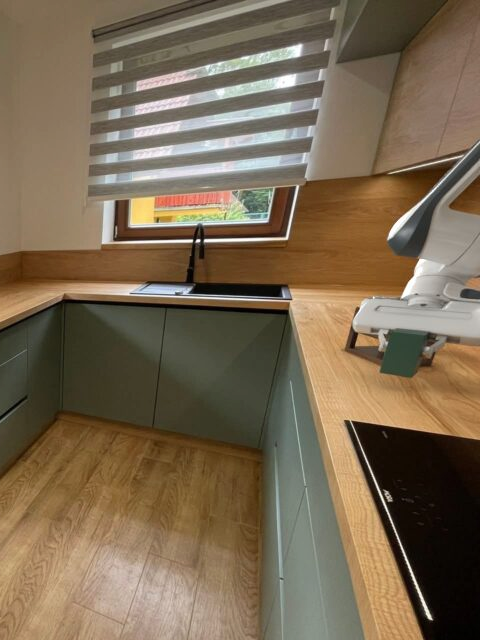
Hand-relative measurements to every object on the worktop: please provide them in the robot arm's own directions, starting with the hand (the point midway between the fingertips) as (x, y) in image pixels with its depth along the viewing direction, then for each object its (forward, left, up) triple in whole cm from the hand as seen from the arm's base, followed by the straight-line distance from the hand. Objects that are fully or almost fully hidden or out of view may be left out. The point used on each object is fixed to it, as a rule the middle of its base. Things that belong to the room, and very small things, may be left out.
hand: (403, 353), depth 88 cm
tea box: (0, 0, -4) cm, 4 cm away
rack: (-14, -22, -8) cm, 27 cm away
